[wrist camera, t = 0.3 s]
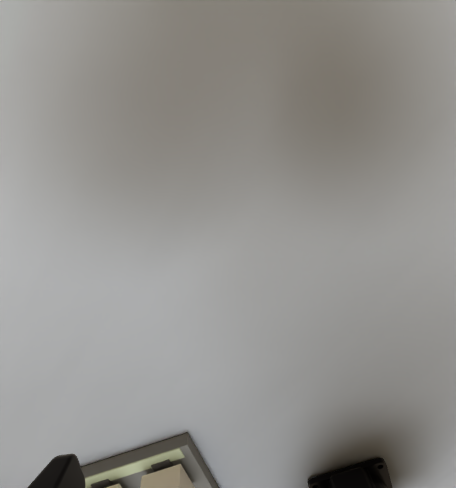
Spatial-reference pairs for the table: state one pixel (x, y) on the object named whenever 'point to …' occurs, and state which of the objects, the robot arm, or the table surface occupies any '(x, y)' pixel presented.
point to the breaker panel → (150, 465)
